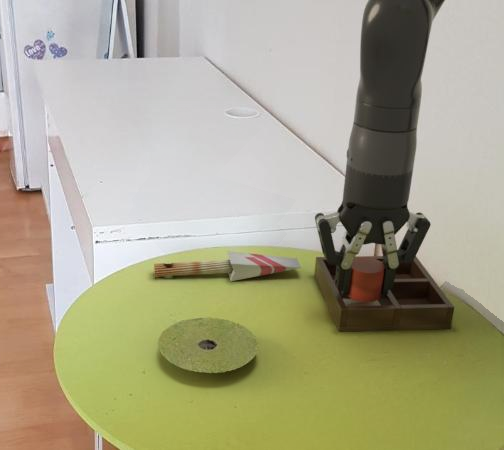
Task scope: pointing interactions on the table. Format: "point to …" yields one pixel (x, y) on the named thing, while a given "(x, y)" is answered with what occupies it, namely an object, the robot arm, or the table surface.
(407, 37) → the robot arm
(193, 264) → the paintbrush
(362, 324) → the grid
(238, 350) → the green disc
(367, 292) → the red cylinder
